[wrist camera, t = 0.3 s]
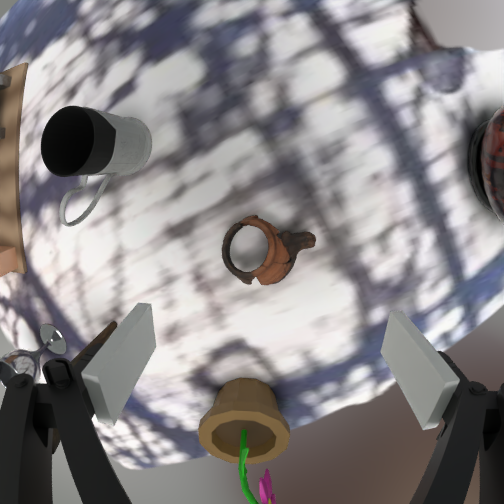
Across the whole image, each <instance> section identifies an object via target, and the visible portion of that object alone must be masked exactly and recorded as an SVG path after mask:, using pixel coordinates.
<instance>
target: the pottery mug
mask: <svg viewBox="0 0 504 504" xmlns="http://www.w3.org/2000/svg"><path fill="white" fill-rule="evenodd" d="M246 225H250V226H255V227H258V228H259V229H261V230H262V231H263V232H264V234H265V235H266V237H267V239H268V245H269V246H268V254H267V257H266V259H265V261H264V263H263V264H262V265H261V266H260V267H259V268H257V269H256V270H253V271H251V272H244V271H241V270H239V269H237V268H236V267H235V266H234V264H233V263H232V261H231V258H230V244H231V241H232V239H233V237H234V235H235V234H236V233H237V232H238V231H239V230H240V229H241V228H243V226H246ZM278 234H279V231H278V230H277V229H276V228H275V227H274V226H272V225H271V224H270V223H268V222H266V221H264V220H263V219H260V218H258V216H257V215H255V216H250V217H247V218H245V219H243V220H242V221H240V222H239V223H235V224H234V225H233V226H232V227H231V228H230V229H229V231H228V232H227V233H226V235H225V237H224V240H223V245H222V258H223V261H224V264H225V265H226V267H227V268H228V270H229V271H230V272H232V273H233V274H234V275H235V276H237V278H239V279H240V280H241V281H242V282H243V283H245V284H249V285H250V284H252V282H251V281H252V280H253V279H254V278H255V277H257V279H258V280H259V282H260V284H261V285H269V284H275V283H278V282H280V281H281V280H282V279H284V278H285V277H286V275H287V274H288V273H289V272H290V271H291V269H292V268H293V266H294V263H295V260H296V258H297V257H296V256H297V254H298V252H299V251H301V250H302V249H307V248H312V247H314V246H315V242H316V237H315V235H314V234H312V233H310V232H300V233H294V234H292V233H290V232H288V231H285V232H284V233H283V234H282V236H281V239H280V238H278V237H277V235H278ZM289 259H290V260H289Z"/></svg>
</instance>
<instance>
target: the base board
mask: <svg viewBox="0 0 504 504" xmlns="http://www.w3.org/2000/svg"><path fill="white" fill-rule="evenodd" d="M27 68H28V63H23V64H20V65H18V66H15V67H13V68H11V69H8V70H6V71H4V72H2V73H0V74H3V75H7V76H11V77H12V79H11V86H10V87H8V88H6V89H3V90H1V91H0V127H2V128H6V131H5V139H1V140H0V246H10V247H15V249H16V256H17V263H18V268H17V269H15V270H13V271H11V272H17V273H26V272H27V267H26V260H25V253H24V246H23V238H22V228H21V217H20V202H19V136H20V121H21V110H22V101H23V93H24V86H25V79H26V73H27Z"/></svg>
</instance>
